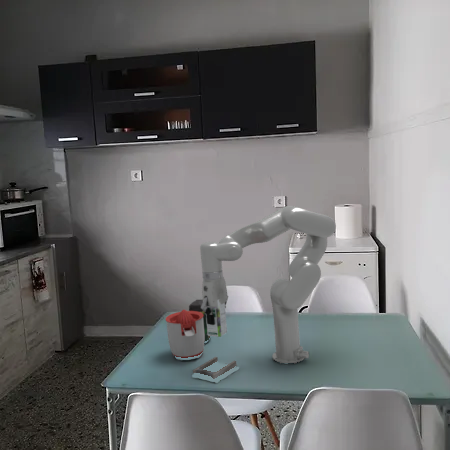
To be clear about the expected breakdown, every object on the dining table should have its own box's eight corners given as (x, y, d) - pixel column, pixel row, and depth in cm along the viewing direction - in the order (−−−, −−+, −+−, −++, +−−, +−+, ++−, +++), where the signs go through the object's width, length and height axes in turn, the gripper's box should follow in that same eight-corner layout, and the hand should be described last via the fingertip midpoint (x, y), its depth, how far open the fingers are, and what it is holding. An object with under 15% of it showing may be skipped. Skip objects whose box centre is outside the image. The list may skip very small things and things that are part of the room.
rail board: (239, 369, 195) (238, 361, 195) (217, 383, 184) (216, 375, 184) (214, 363, 202) (213, 356, 202) (191, 377, 191) (190, 369, 191)
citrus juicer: (173, 368, 201) (168, 319, 198) (166, 352, 218) (162, 307, 215) (212, 360, 205) (207, 312, 202) (202, 346, 222) (198, 301, 219)
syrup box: (207, 336, 193) (203, 298, 191) (214, 330, 198) (211, 294, 196) (220, 337, 190) (217, 299, 188) (227, 332, 195) (224, 295, 193)
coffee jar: (207, 345, 222) (203, 304, 220) (190, 345, 224) (186, 304, 221) (212, 337, 231) (209, 297, 229) (196, 337, 233) (192, 298, 231)
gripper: (206, 281, 182) (210, 330, 184) (234, 270, 195) (237, 316, 198) (190, 280, 186) (194, 327, 189) (218, 269, 200) (222, 313, 202)
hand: (216, 321), depth 193 cm, fingers closed on syrup box, 6 cm apart
